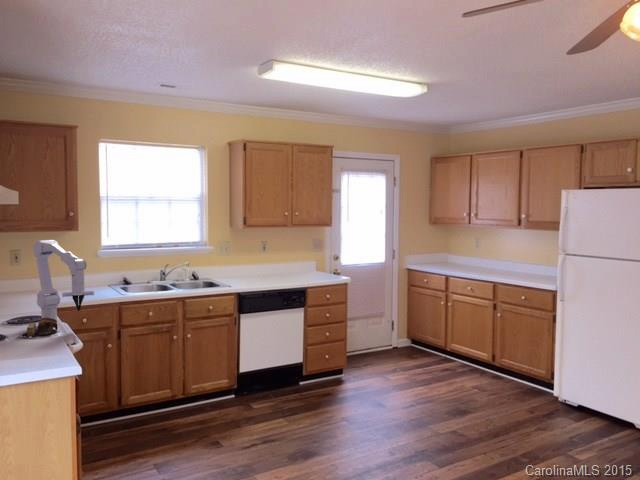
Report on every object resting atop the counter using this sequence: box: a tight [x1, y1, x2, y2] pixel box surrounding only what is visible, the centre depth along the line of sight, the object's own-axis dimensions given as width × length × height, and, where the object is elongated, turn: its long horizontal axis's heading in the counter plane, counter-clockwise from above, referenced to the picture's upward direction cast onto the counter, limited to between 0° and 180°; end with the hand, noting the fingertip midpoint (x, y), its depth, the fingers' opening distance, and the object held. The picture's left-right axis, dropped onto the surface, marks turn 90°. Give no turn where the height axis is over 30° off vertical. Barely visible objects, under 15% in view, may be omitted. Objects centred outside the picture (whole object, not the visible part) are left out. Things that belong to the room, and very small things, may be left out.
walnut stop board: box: [26, 322, 37, 337], centre depth 259 cm, size 12×2×4 cm, turn 22°
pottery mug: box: [35, 318, 58, 335], centre depth 261 cm, size 12×10×8 cm
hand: (78, 310), depth 268 cm, fingers closed
